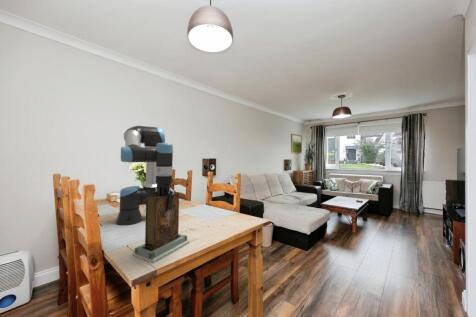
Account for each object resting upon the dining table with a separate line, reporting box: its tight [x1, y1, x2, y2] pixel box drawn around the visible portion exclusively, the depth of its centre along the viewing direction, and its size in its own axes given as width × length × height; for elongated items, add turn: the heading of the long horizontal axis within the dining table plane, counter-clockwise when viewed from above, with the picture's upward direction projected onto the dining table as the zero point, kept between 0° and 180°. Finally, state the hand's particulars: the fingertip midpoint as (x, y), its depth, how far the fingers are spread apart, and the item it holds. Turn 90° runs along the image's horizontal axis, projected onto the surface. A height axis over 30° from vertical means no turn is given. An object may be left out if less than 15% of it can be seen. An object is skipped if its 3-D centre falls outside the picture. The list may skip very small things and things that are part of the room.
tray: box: [131, 233, 190, 264], centre depth 95 cm, size 14×22×3 cm, turn 153°
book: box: [144, 192, 180, 251], centre depth 95 cm, size 16×6×25 cm, turn 154°
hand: (163, 223), depth 95 cm, fingers closed
